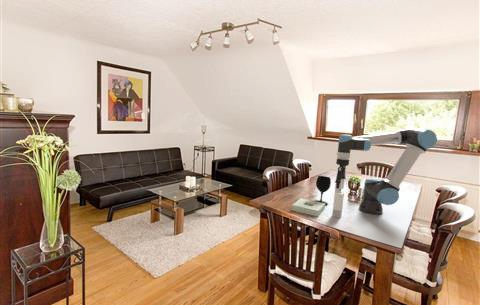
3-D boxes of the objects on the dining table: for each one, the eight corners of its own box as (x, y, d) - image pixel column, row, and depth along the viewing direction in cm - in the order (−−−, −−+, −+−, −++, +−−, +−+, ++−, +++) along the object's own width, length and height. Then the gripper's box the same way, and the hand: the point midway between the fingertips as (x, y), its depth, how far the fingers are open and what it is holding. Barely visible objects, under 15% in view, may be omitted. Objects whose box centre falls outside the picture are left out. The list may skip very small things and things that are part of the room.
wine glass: (317, 204, 190) (320, 178, 188) (311, 200, 201) (314, 175, 198) (330, 205, 192) (334, 179, 190) (323, 201, 202) (327, 176, 200)
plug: (341, 215, 173) (344, 192, 171) (340, 218, 169) (342, 194, 167) (333, 214, 176) (336, 191, 173) (332, 216, 172) (334, 193, 169)
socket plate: (324, 208, 185) (325, 203, 185) (318, 216, 170) (318, 210, 169) (300, 203, 194) (300, 198, 194) (291, 210, 179) (292, 204, 178)
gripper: (340, 155, 179) (337, 185, 182) (332, 160, 158) (329, 193, 161) (352, 157, 175) (348, 187, 179) (345, 162, 154) (341, 196, 157)
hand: (339, 190), depth 170 cm, fingers open, 13 cm apart
